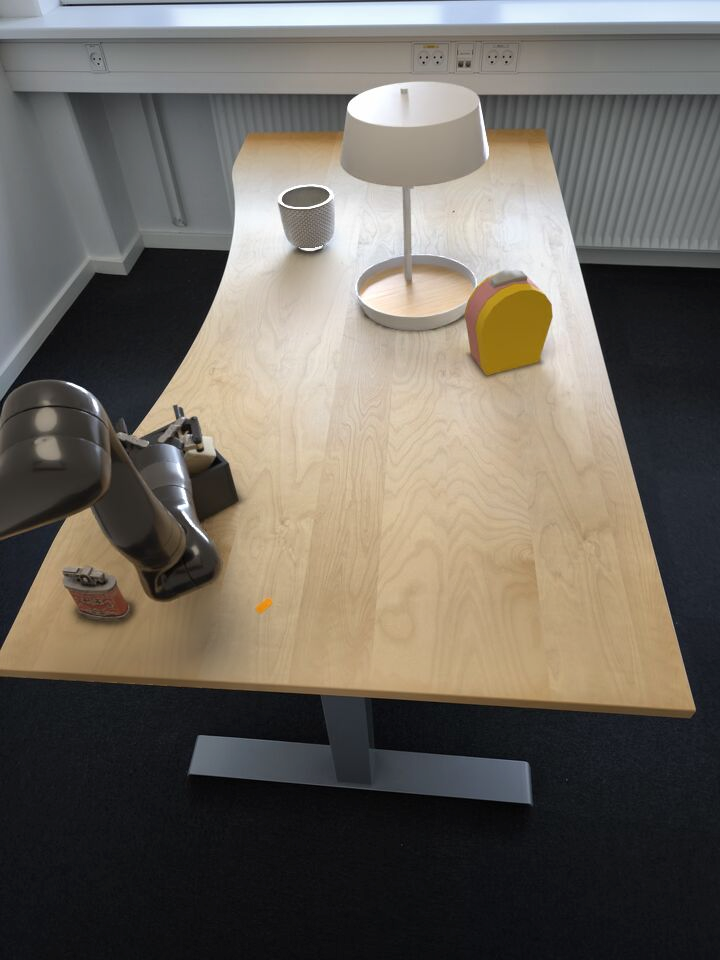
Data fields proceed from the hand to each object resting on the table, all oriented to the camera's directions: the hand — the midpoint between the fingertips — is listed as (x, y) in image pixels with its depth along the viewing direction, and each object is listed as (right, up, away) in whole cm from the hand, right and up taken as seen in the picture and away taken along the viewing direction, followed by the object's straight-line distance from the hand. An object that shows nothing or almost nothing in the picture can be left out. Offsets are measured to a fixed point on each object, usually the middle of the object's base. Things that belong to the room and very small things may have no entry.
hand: (149, 415), depth 116 cm
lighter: (-5, -30, -6) cm, 31 cm away
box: (+2, -11, +9) cm, 15 cm away
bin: (+2, -13, +10) cm, 17 cm away
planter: (+21, +50, +73) cm, 91 cm away
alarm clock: (+63, +15, +33) cm, 72 cm away
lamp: (+46, +31, +51) cm, 75 cm away
